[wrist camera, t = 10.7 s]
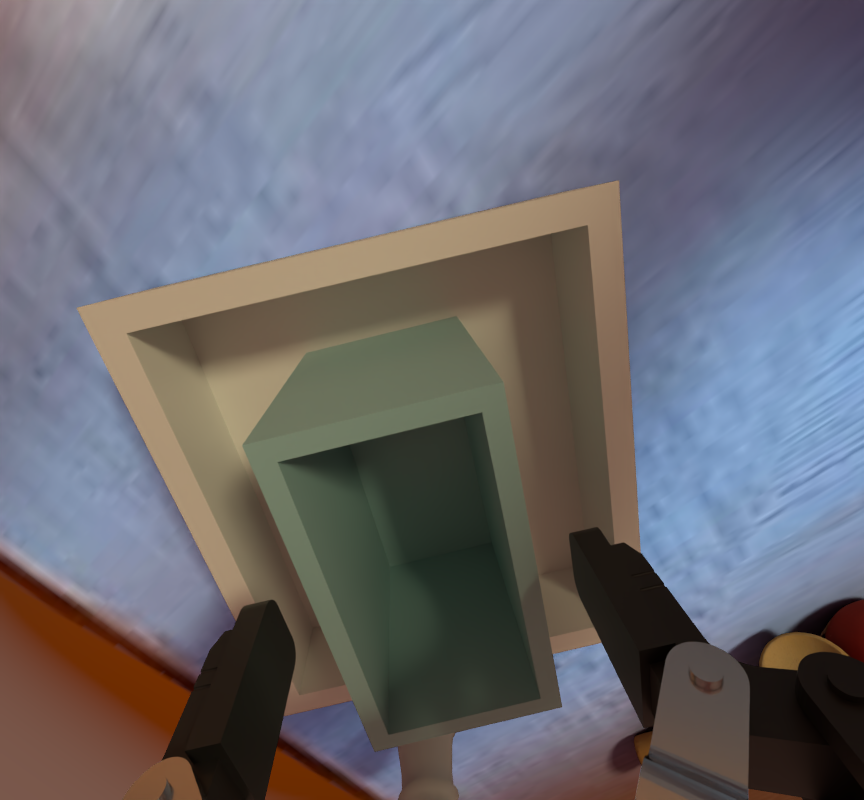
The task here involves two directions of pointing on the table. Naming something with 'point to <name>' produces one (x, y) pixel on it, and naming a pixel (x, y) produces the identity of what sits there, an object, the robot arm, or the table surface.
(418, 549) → the teal tote
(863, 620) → the kendama
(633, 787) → the table surface
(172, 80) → the table surface
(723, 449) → the table surface
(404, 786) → the rook chess piece
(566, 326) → the beige tray
